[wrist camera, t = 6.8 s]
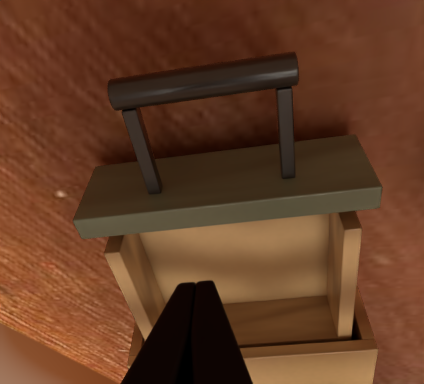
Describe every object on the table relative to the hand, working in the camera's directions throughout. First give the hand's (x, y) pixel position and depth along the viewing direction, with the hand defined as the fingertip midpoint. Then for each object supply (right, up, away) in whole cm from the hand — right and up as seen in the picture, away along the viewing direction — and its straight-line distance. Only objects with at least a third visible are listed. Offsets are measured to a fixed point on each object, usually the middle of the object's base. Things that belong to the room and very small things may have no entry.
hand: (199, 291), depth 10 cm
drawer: (+1, +2, +13) cm, 13 cm away
